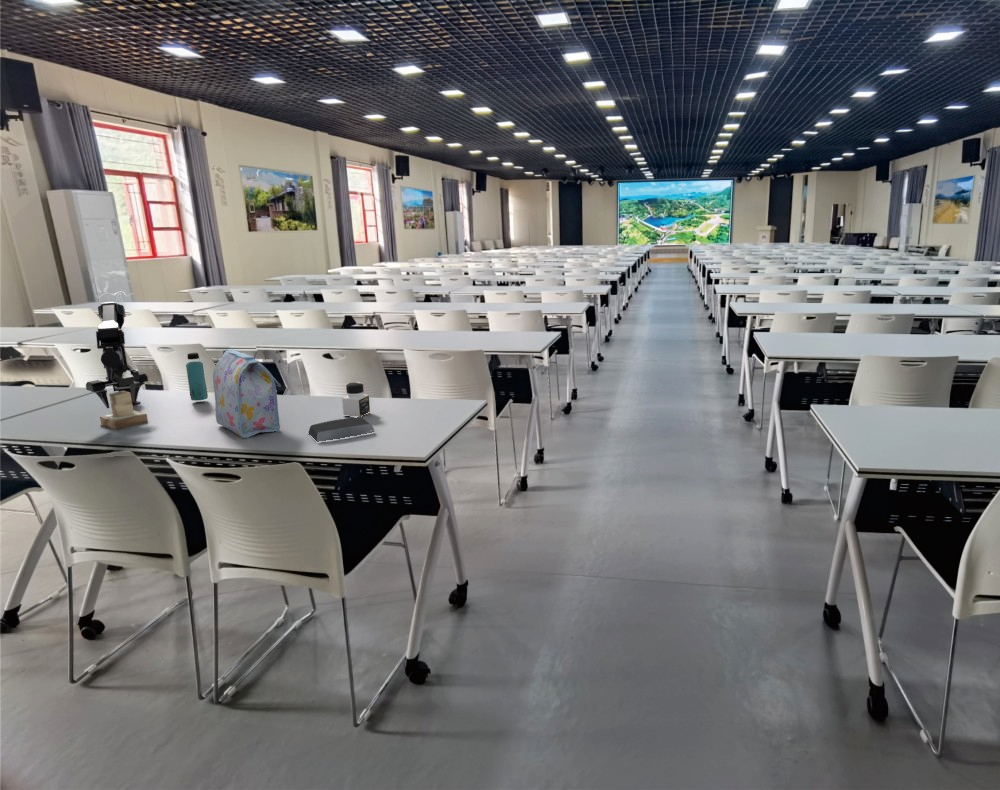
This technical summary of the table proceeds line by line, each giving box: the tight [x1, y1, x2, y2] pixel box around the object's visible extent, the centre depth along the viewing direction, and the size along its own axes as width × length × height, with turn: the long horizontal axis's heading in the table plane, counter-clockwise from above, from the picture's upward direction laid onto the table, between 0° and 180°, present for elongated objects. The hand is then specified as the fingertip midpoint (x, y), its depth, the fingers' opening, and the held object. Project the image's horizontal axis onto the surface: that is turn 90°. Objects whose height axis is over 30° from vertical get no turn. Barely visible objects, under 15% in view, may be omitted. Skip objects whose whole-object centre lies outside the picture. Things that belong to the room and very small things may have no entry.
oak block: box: [108, 391, 134, 417], centre depth 232 cm, size 5×5×8 cm
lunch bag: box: [212, 348, 282, 439], centre depth 222 cm, size 22×17×26 cm
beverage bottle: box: [185, 352, 209, 402], centre depth 258 cm, size 6×7×20 cm
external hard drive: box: [308, 417, 376, 442], centre depth 216 cm, size 13×19×4 cm
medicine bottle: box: [341, 381, 371, 417], centre depth 237 cm, size 7×7×12 cm
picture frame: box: [99, 409, 149, 430], centre depth 233 cm, size 11×11×3 cm
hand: (121, 405), depth 232 cm, fingers open, 9 cm apart
